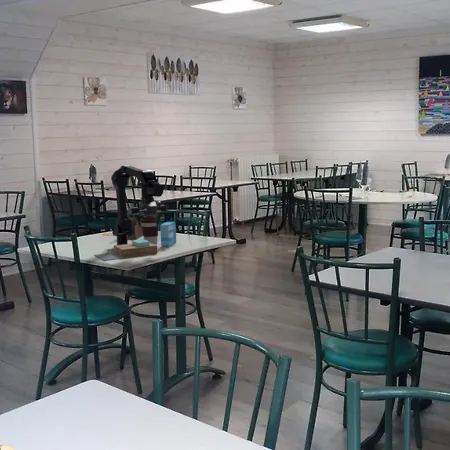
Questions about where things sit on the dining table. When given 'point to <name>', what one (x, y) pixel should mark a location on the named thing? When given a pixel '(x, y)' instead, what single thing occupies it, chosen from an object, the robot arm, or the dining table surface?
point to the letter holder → (134, 230)
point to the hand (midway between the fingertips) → (148, 226)
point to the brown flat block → (134, 250)
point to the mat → (109, 256)
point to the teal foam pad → (140, 242)
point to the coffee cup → (150, 229)
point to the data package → (168, 234)
